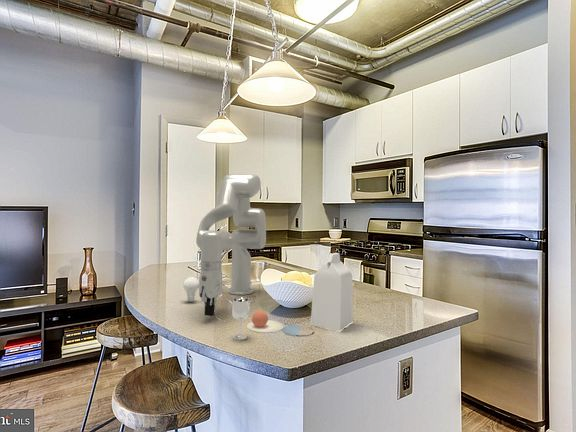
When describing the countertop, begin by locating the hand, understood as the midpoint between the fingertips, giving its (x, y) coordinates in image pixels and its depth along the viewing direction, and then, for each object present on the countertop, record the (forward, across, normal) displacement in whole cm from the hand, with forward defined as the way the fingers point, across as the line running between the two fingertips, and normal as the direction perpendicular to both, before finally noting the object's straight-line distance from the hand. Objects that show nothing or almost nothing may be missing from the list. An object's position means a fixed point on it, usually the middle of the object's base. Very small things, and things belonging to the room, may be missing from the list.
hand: (209, 315), depth 127 cm
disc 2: (+2, 0, -34) cm, 34 cm away
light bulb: (+2, +18, +19) cm, 26 cm away
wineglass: (+2, -13, -18) cm, 22 cm away
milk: (+2, +11, -44) cm, 45 cm away
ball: (-1, -1, -20) cm, 20 cm away
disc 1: (+2, 0, -22) cm, 22 cm away
